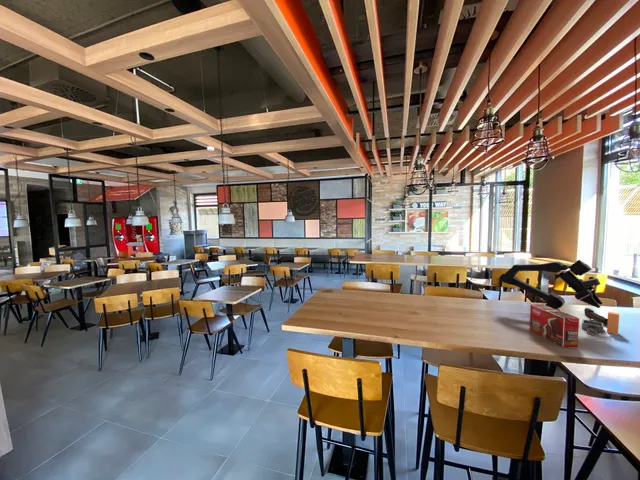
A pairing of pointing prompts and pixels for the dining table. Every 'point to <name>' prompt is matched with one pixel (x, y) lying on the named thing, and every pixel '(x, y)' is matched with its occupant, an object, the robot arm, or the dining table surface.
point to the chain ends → (592, 326)
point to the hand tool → (595, 316)
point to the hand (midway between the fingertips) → (600, 305)
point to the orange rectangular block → (613, 323)
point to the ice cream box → (554, 325)
